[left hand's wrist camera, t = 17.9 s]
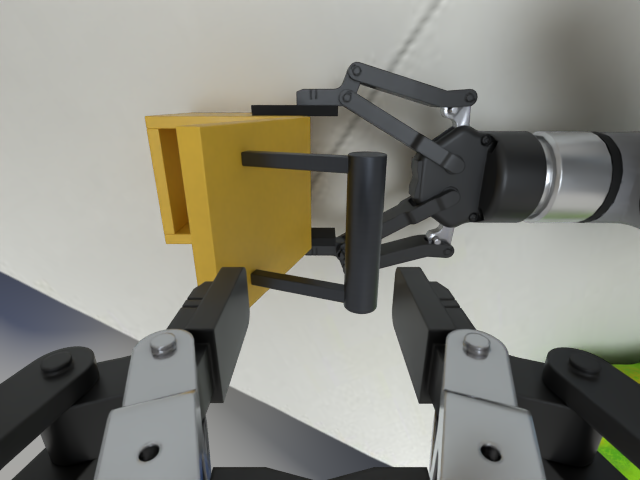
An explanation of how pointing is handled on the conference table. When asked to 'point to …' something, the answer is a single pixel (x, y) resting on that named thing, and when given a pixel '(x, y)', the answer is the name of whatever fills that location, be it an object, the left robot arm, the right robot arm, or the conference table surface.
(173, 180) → the chest
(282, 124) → the lid
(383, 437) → the conference table surface
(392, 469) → the left robot arm
